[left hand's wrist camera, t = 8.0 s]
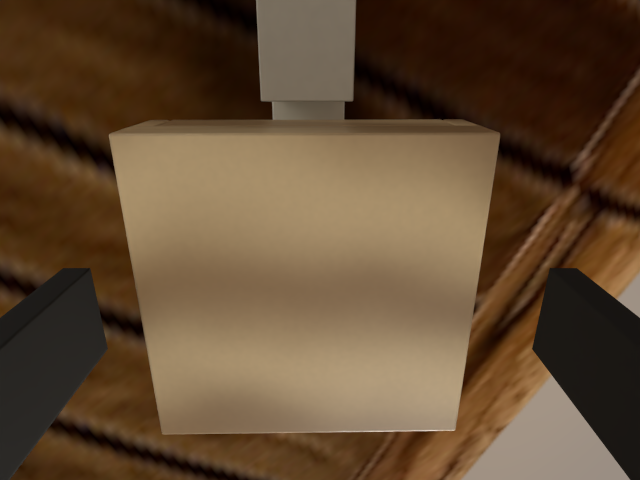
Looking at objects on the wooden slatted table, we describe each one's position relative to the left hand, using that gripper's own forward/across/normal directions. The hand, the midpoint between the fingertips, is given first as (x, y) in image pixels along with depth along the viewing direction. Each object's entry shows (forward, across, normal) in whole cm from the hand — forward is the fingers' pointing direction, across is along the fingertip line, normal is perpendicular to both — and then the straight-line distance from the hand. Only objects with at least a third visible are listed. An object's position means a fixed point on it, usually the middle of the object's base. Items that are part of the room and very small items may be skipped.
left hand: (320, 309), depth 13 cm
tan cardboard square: (+3, 0, 0) cm, 3 cm away
